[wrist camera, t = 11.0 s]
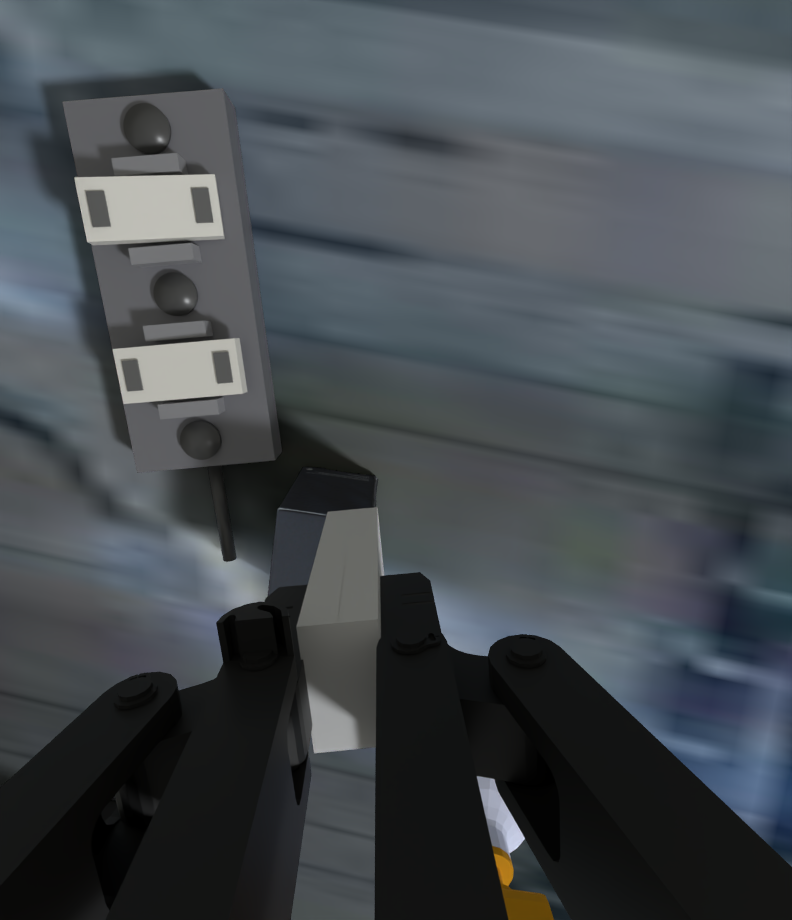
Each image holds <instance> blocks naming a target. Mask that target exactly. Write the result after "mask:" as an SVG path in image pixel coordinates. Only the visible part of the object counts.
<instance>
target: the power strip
mask: <svg viewBox="0 0 792 920" xmlns="http://www.w3.org/2000/svg"><path fill="white" fill-rule="evenodd" d="M62 103H63V107H64V112H65V117H66V122H67V127H68V132H69V137H70V142H71V147H72V152H73V157H74V162H75V167H76V172H77V177H113V176H158V175H203V174H215V178H216V183H217V189H218V196H219V203H220V210H221V216H222V223H223V230H224V237H225V239H217V240H196V241H175V242H153V243H132V244H111V245H91V246H92V251H93V256H94V261H95V266H96V271H97V276H98V281H99V286H100V291H101V296H102V301H103V306H104V311H105V316H106V321H107V326H108V330H109V335H110V340H111V345H112V350H113V349H119V348H131V347H142V346H153V345H165V344H176V343H187V342H199V341H210V340H221V339H233V338H240V345H241V352H242V358H243V365H244V372H245V378H246V385H247V392H246V393H243V394H234V395H223V396H211V397H200V398H188V399H176V400H165V401H153V402H142V403H130V404H123V405H124V410H125V415H126V420H127V425H128V430H129V435H130V439H131V444H132V449H133V454H134V459H135V464H136V469H137V473H142V472H153V471H164V470H175V469H186V468H197V467H208V473H209V479H210V484H211V490H212V496H213V502H214V508H215V514H216V520H217V525H218V531H219V537H220V543H221V549H222V555H223V560H224V561H226V562H228V561H233V560H235V559H236V552H235V546H234V540H233V533H232V527H231V521H230V515H229V509H228V503H227V497H226V491H225V485H224V479H223V473H222V467H221V465H230V464H241V463H252V462H263V461H274V460H276V459H277V457H278V456H279V455H280V454H281V452H282V447H281V440H280V432H279V425H278V418H277V410H276V403H275V396H274V389H273V381H272V374H271V367H270V359H269V352H268V345H267V337H266V330H265V323H264V316H263V308H262V301H261V294H260V286H259V279H258V272H257V265H256V257H255V250H254V243H253V235H252V228H251V221H250V213H249V206H248V199H247V192H246V184H245V177H244V170H243V162H242V155H241V148H240V141H239V133H238V126H237V119H236V111H235V107H234V105H233V104H232V102H231V101H230V99H229V97H228V96H227V94H226V93H225V91H224V89H223V88H222V89H210V90H198V91H185V92H173V93H161V94H149V95H136V96H124V97H112V98H99V99H87V100H75V101H63V102H62ZM113 355H114V354H113ZM114 360H115V359H114ZM115 365H116V364H115ZM116 370H117V369H116ZM117 375H118V374H117ZM118 380H119V379H118ZM119 385H120V384H119ZM120 390H121V389H120ZM121 395H122V394H121ZM122 400H123V399H122Z"/></svg>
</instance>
